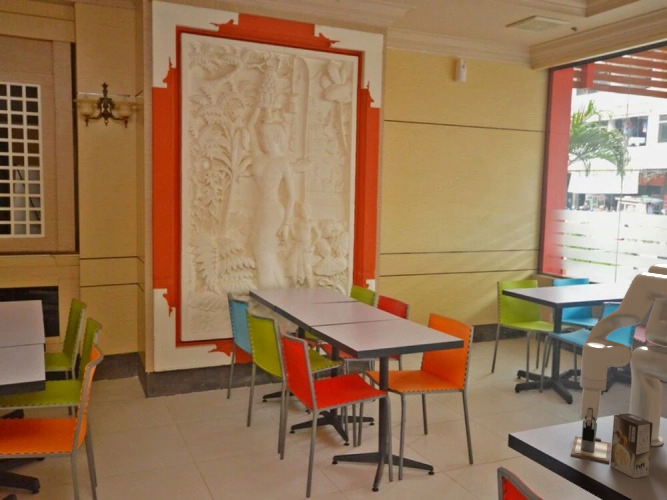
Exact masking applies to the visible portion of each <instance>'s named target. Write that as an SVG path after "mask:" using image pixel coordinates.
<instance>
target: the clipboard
mask: <svg viewBox="0 0 667 500" xmlns="http://www.w3.org/2000/svg"><path fill="white" fill-rule="evenodd" d="M581 440H582V436H581V437H580V436H577V435H576V436H574V439H573V442H572V443H573V444H572V448H571V452H570V457H574V458H578V459H584V460H589V461H594V462H598V463H605V464H608V465H610V460H611V449H612V442H607V441H602V438H601V437H596V439H595V449H594V452H592V453H589V452H585V451H582V450H581Z"/></svg>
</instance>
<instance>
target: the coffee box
mask: <svg viewBox="0 0 667 500" xmlns="http://www.w3.org/2000/svg"><path fill="white" fill-rule="evenodd" d="M612 421H613V424H612V439H611V448H610V461H609V466H610V467H611V468H613V469H616V470H618V471H619V472H621V473H623V474H625V475H627V476H629V477H631V478H633V479H639V478H643V477H648V476H649V473H650V461H651V460H650V459H651V449H652V446H651V438H652V426H653V423H652V422H649V421H647V420H644V419H642V418H640V417H637V416H635V415H632V414H630V413H629V412H624V413H618V414H614V415H613V420H612Z"/></svg>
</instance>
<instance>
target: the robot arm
mask: <svg viewBox="0 0 667 500" xmlns="http://www.w3.org/2000/svg"><path fill="white" fill-rule="evenodd" d="M651 308H652V309H651ZM650 310H651V312H650ZM649 312H650V315H649V317H648V320H647V323H646V326H645V330H644V338H645V340H646V341H647V342H648V343H651V344H652V345H656V346H660V347H663V348H667V264H664V263H663V264H662V263H661V264H660V263H657V264H653V265H651V266H650V267H649V268H648V270H647V272H640V273H638V274H636V275H635V276H634V278H633V280H632V281H631V283H630V285H629V287H628V288H627V291H626V292H625V295H624V296H623V299H622V301H620V304H619V305H618V308H617V309H616V310H614V311H612V312H610V313H608V314H607V315H605V316H604V317H602V318H601V319H600V320H598V322H597V323H596V324H594V326H593V327H592V329H591V331H590V332H589V334H588V336H587V338H586V341H585V343H584V344H583V346H582V354H581V364H580V365H581V367H580V376H579V377H580V379H579V387H580V388H582V392H581V393H582V394H581V404H580V405H581V407H580V416H579V418H580V420H585V422H584V427H583V437H582V436H581V437H582V439H583V440H585V441H590V442H593V441H594V422H596V423H597V420H598V416H599V413H600V406H601V397H602V391H606V389H607V378H608V368H609V367H610V368H611V367H613V368H622V367H626V366H627V365H628V364H630V370H631V386H630V397H629V399H630V400H629V407H628V408H629V411H628V413H630V414H632V415H635V416H637V417H640V418H642V419H644V420H647V421H649V422H652V423H653V426H652V438H651V447H658V446H662V445H663V444H664V438H663V437H662V436H661V435H660V427H661V425H660V424H661V416H662V415H661V414H662V406H663V405H662V404H663V393H664V390H663V386H662V383H661V381H663V382H666V383H667V351H666V350H663V349H659V348H655V347H651V346H645V345H644V346H638V347H636V348H634V350H633V351H632V350H631V349H630V347H628V346H627V345H626V344H623V343H620V342H616V341H613V340H611V339H607V338H608V337H609V336H610V335H611V333H613V332H615V331H617V330H619V329H623V328H627V327H632V326H636V325H640V324H642V323H644V322H645V320H646V318H647V316H648V314H649Z"/></svg>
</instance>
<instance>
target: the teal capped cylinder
mask: <svg viewBox="0 0 667 500" xmlns="http://www.w3.org/2000/svg"><path fill="white" fill-rule="evenodd" d="M584 422H585V419H582V428H581V437H583V427H584ZM597 430H598V422H597V421H596V422H594V441H593V442H590V441H585V440H583V439H582V440H581V450H582V451H585V452H589V453H592V452H594V449H595V439H596V438H597V437H596V436H597V432H598V431H597Z"/></svg>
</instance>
